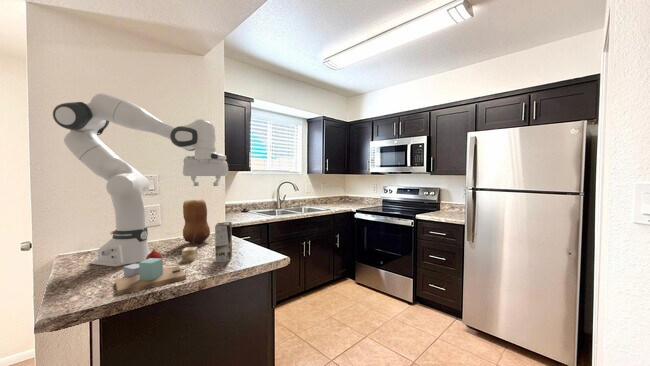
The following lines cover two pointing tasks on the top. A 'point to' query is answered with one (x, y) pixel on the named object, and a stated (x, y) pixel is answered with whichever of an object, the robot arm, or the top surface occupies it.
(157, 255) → the onion
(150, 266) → the teal block
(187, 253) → the beech block
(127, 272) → the slate block
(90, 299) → the top surface
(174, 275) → the board
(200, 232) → the butternut squash
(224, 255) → the coffee box
